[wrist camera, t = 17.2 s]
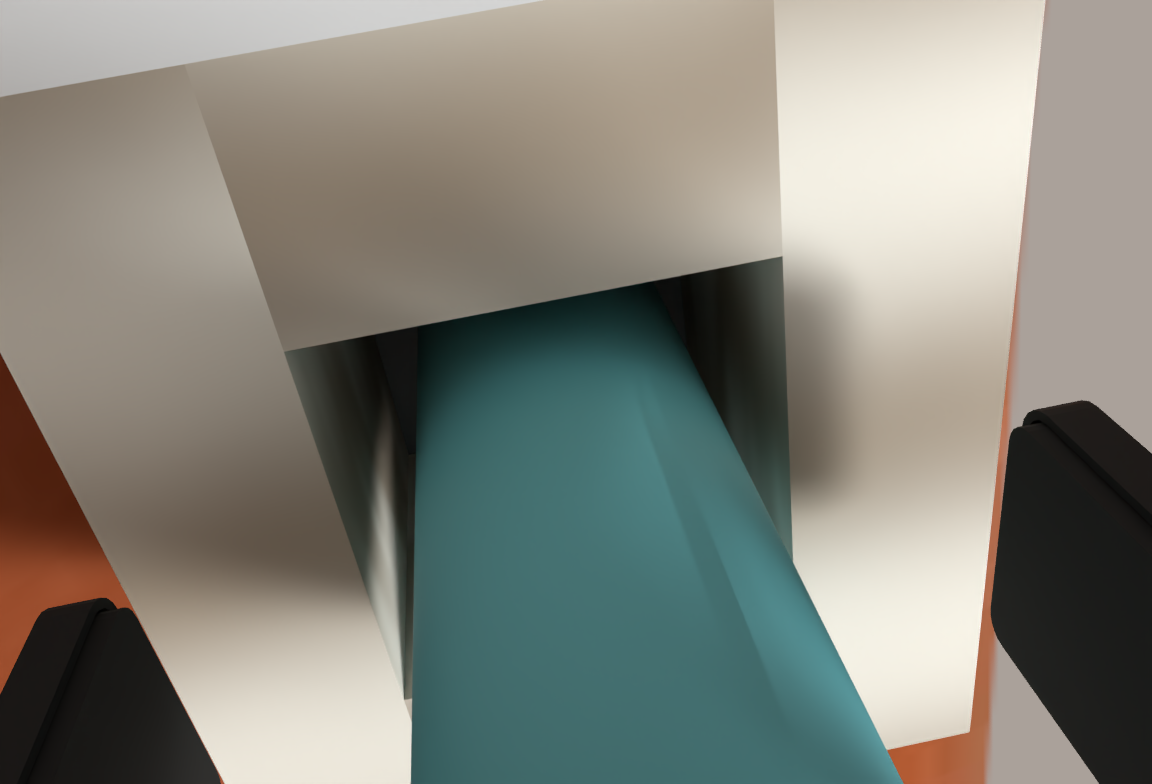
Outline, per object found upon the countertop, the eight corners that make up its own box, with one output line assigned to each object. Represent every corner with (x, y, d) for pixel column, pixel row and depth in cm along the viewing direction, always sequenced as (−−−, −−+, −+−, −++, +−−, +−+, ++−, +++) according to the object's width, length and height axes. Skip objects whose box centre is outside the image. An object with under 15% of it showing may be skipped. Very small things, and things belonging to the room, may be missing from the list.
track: (853, 822, 28) (1016, 1199, 20) (410, 919, 28) (406, 1345, 20) (867, -498, 13) (1510, -956, 5) (-110, -344, 12) (-960, -608, 5)
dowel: (655, 370, 18) (952, 1070, 8) (446, 412, 18) (474, 1181, 8) (629, 165, 16) (984, 755, 6) (392, 211, 16) (335, 897, 6)
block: (831, 503, 20) (970, 732, 15) (313, 609, 20) (275, 881, 15) (827, -140, 14) (1058, -119, 9) (72, -9, 14) (-135, 93, 9)
